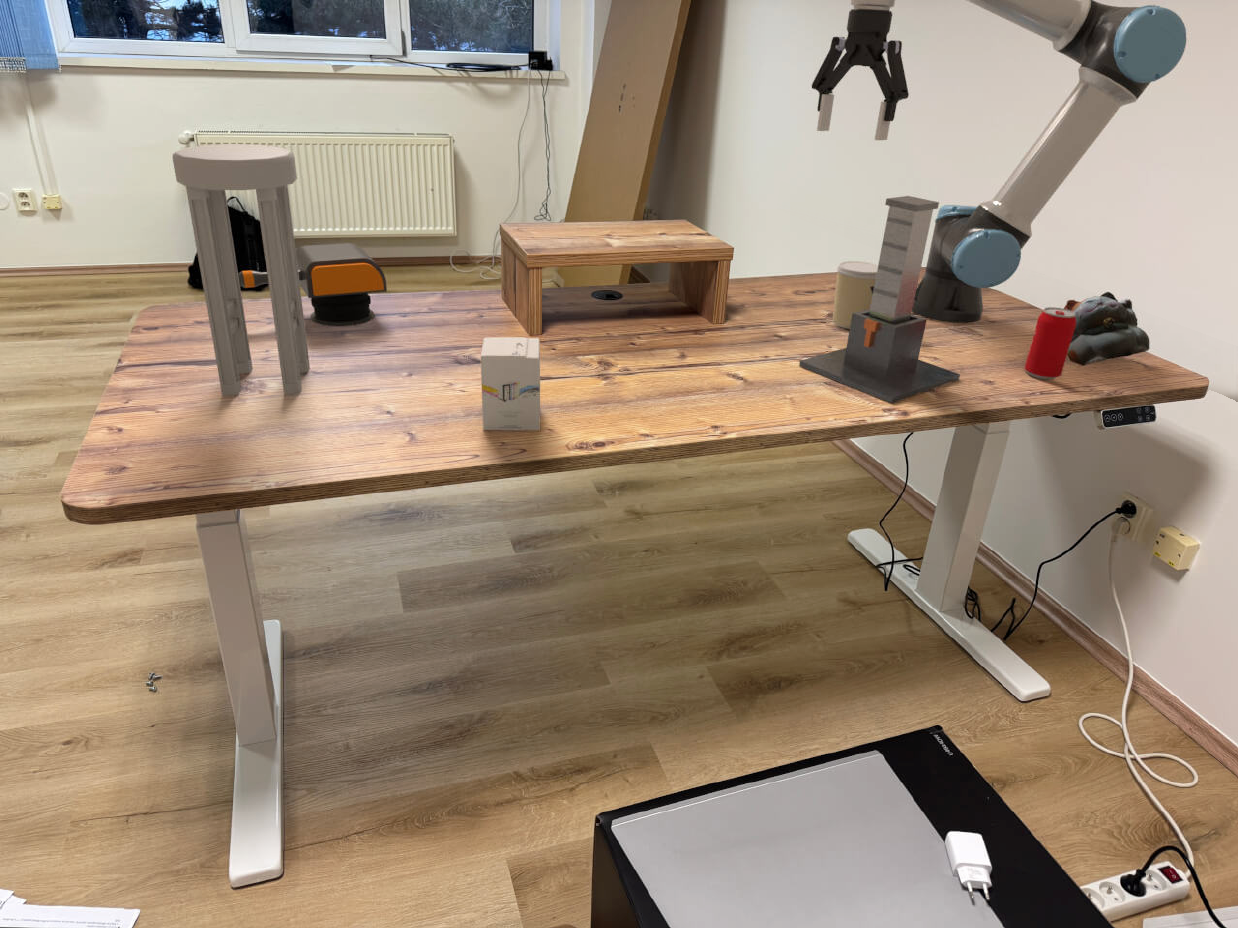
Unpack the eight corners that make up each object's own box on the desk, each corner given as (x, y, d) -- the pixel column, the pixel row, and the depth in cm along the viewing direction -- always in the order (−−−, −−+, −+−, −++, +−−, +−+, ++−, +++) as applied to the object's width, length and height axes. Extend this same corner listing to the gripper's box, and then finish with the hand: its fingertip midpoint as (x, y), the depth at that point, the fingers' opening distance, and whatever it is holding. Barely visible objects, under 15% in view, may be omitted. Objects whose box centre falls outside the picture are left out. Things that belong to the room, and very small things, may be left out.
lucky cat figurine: (1069, 367, 163) (1059, 294, 163) (1056, 371, 175) (1047, 303, 175) (1158, 354, 159) (1149, 279, 159) (1139, 360, 171) (1130, 289, 171)
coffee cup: (875, 333, 176) (886, 274, 171) (828, 328, 178) (838, 270, 172) (872, 319, 185) (883, 263, 179) (828, 314, 186) (837, 259, 181)
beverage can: (1058, 372, 161) (1077, 309, 156) (1061, 383, 156) (1081, 319, 150) (1022, 366, 163) (1039, 304, 157) (1024, 377, 158) (1042, 313, 152)
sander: (241, 314, 167) (231, 248, 162) (372, 302, 178) (367, 240, 172) (251, 338, 156) (241, 268, 150) (390, 324, 167) (385, 258, 161)
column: (884, 316, 156) (908, 196, 146) (912, 325, 152) (939, 202, 142) (863, 321, 152) (886, 198, 143) (892, 331, 148) (917, 205, 138)
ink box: (484, 407, 134) (482, 335, 129) (539, 408, 135) (540, 336, 130) (481, 431, 127) (479, 355, 121) (539, 431, 127) (540, 356, 122)
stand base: (867, 346, 169) (877, 293, 164) (958, 379, 155) (972, 323, 150) (799, 365, 157) (807, 309, 152) (891, 403, 144) (903, 343, 139)
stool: (324, 363, 147) (299, 145, 131) (311, 399, 134) (282, 161, 118) (227, 364, 144) (189, 142, 128) (204, 401, 131) (159, 158, 115)
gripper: (803, 5, 161) (787, 127, 171) (919, 10, 144) (894, 145, 154) (829, 7, 165) (813, 126, 175) (944, 12, 148) (919, 143, 158)
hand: (850, 135), depth 164 cm, fingers open, 13 cm apart
